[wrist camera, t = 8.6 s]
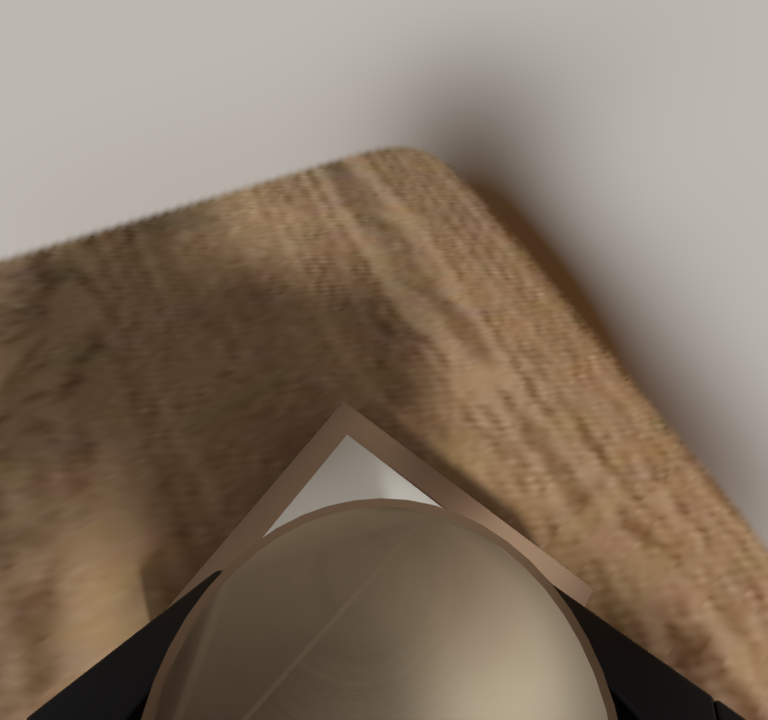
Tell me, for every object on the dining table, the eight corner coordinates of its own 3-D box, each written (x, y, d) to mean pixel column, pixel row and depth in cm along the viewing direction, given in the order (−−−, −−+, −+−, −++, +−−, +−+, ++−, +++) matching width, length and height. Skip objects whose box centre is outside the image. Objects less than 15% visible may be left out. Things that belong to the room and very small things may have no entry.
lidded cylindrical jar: (475, 661, 14) (736, 858, 4) (336, 766, 13) (259, 1364, 3) (393, 519, 16) (449, 426, 6) (263, 601, 15) (62, 653, 5)
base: (560, 587, 19) (596, 589, 16) (396, 895, 15) (404, 973, 12) (345, 423, 21) (343, 399, 18) (155, 651, 17) (114, 667, 14)
